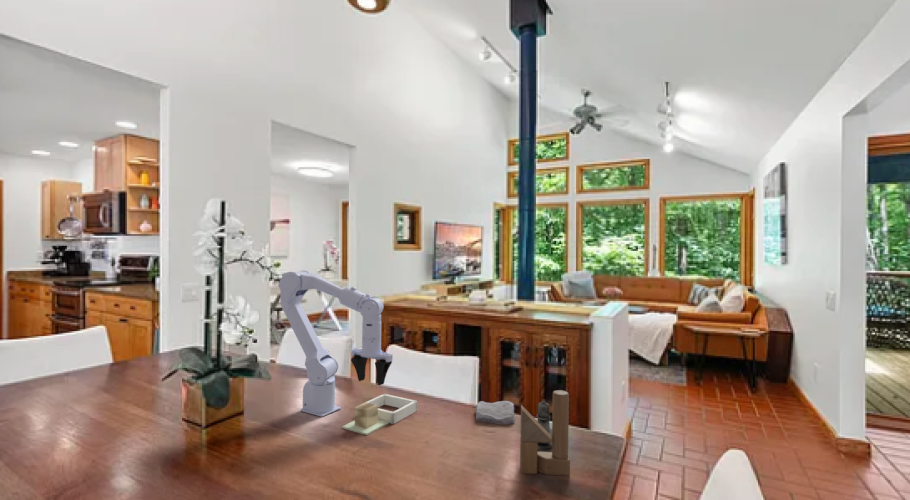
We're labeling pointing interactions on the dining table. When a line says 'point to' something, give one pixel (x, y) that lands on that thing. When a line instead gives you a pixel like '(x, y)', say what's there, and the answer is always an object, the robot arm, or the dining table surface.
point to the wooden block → (546, 440)
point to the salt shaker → (544, 423)
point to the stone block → (495, 412)
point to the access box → (403, 404)
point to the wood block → (366, 415)
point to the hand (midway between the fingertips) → (371, 382)
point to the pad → (365, 431)
